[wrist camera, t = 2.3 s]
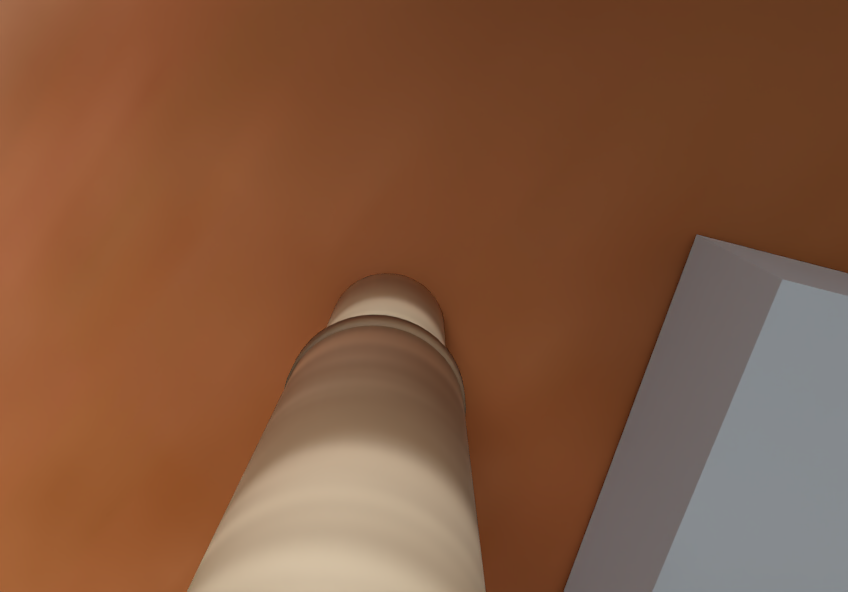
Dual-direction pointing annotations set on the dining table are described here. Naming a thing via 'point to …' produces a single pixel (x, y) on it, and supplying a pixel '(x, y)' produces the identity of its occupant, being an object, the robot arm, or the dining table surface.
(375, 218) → the dining table surface
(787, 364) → the seat board
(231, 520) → the beech leg
